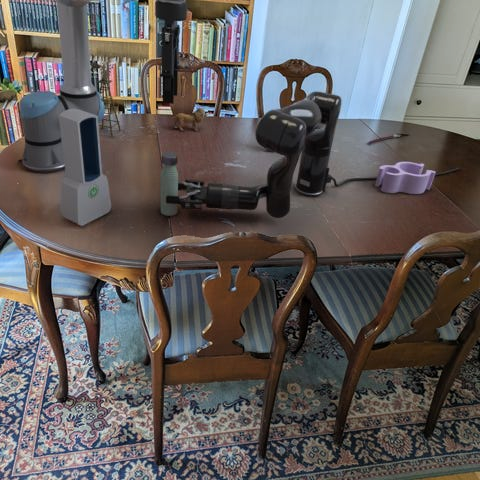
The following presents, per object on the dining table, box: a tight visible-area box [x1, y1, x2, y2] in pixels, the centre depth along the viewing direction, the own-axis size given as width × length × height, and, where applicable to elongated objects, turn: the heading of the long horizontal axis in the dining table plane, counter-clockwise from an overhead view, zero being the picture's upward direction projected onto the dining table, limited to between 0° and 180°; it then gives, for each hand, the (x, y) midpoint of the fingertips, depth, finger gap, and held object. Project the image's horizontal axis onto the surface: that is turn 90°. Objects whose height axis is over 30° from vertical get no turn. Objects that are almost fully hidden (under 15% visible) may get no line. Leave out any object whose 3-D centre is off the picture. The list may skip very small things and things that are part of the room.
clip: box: [374, 161, 436, 195], centre depth 169 cm, size 20×12×7 cm, turn 109°
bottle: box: [160, 164, 179, 217], centre depth 135 cm, size 5×5×18 cm
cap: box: [161, 151, 178, 166], centre depth 131 cm, size 4×4×2 cm
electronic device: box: [59, 109, 112, 227], centre depth 126 cm, size 12×8×30 cm, turn 148°
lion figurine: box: [170, 107, 206, 132], centre depth 198 cm, size 15×5×9 cm, turn 110°
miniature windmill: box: [91, 55, 122, 138], centre depth 181 cm, size 9×8×30 cm
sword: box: [367, 133, 409, 145], centre depth 213 cm, size 31×3×1 cm, turn 126°
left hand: (170, 98), depth 122 cm, fingers open, 7 cm apart
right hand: (167, 192), depth 136 cm, fingers open, 8 cm apart
